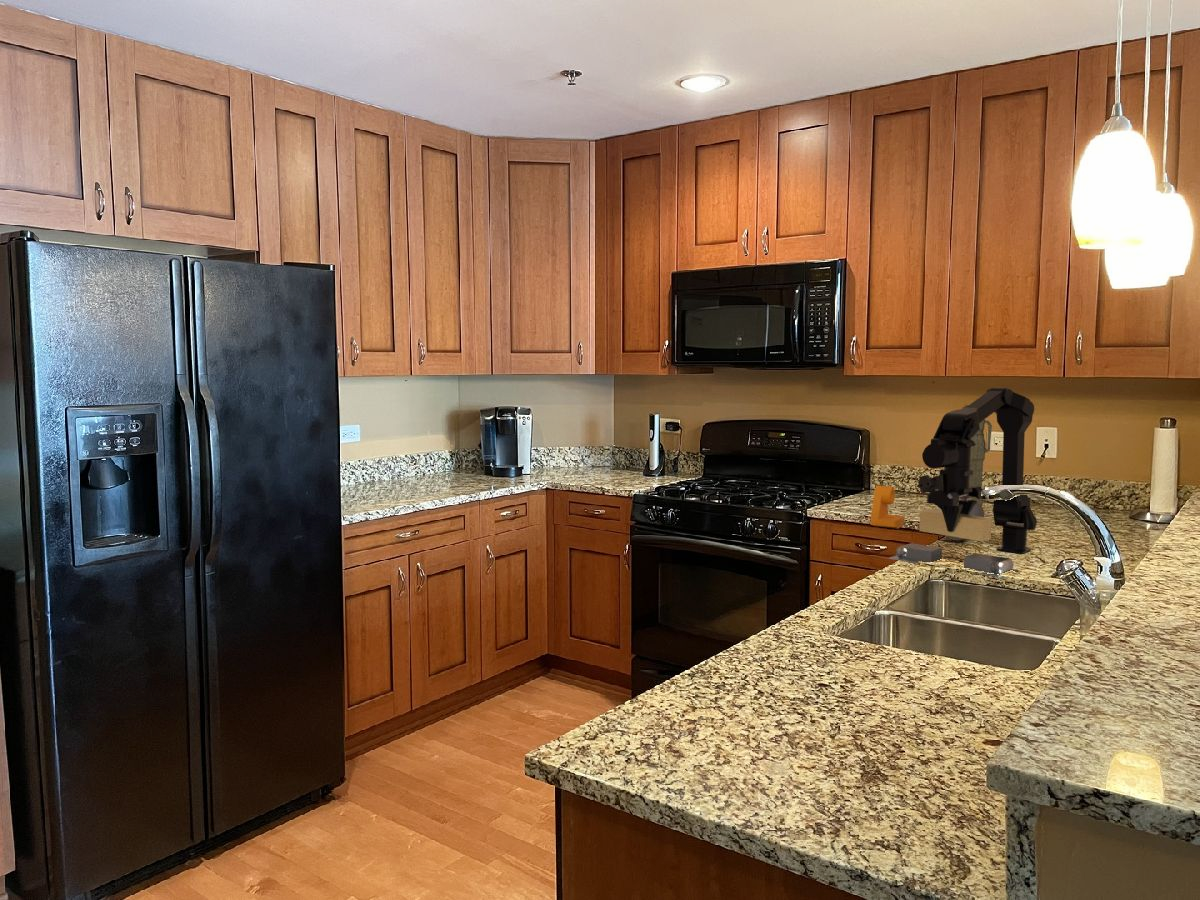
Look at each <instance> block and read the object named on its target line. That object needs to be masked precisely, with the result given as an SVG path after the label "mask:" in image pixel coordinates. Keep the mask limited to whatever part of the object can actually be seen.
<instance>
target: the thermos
mask: <svg viewBox="0 0 1200 900" xmlns="http://www.w3.org/2000/svg"><path fill="white" fill-rule="evenodd" d="M969 405H970V404H969ZM969 405H967V404H966V405H965V406H962V408H961V409H963V408H966V407H967V406H969ZM985 424H987V426H988V427H987V445H986V441H985V434H984V431H985ZM992 427H993V425H992V423H991V422H990V420H986V419H984V420H983V421H982V422H981V423H980V429H979V430H978V431H977V433H976V434H975V435H974V436H973V437H972V438H971V440H972V441H974V442H975V444H976V445H975V446H971V460H970V470H973V475H970V482H969V485H971V486H980V487H981V488H982V489H983V474H984V473H983V471H984V461H985V459H986V453H989V451H990V450H991V441H992V440H991V439H992ZM971 500H975V501H977V502H978V503H979V504H980V505H981V506H982V507H983V504H984V498H983V499H982V498H981V499H977V498H976V497H971Z"/></svg>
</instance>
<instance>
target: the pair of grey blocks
mask: <svg viewBox="0 0 1200 900" xmlns="http://www.w3.org/2000/svg"><path fill="white" fill-rule="evenodd" d="M895 554H896V555H893V556H890V557H888V559H889V560H896V561H902V560H904V561H902V562H907V563H912V562H913V564H918V563H917V562H918V561H922V562H934V561H937V560H940V559H942V558H943V547H937V546H931V545H925V544H919V543H908V544H904V545H900V546H898V547H897V548H896V550H895ZM963 561H964V568H970V569H975V570H978V571H984V572H989V573H994V574H987V573H977V574H979V575H983V576H991V577H996V578H1003V579H1006V578H1007V577H1004V576H999V575H1000V574H1002V573H1005V572H1007V571H1010V570H1013V571H1018V573H1020V572H1021V570H1019V569H1013V568H1014V566H1015V565H1014V564H1015V563H1014V562H1013V560H1012V559H1011V558H1010V557H1009V558H1008V557H1002V556H996V555H989V554H983V553H977V552H976V553H975V552H974V553H972V554H968V555H965V556H964V559H963ZM1019 571H1020V572H1019ZM961 572H964V571H963V570H962V571H961ZM973 574H975V573H974V572H973ZM997 574H999V575H997Z"/></svg>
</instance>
